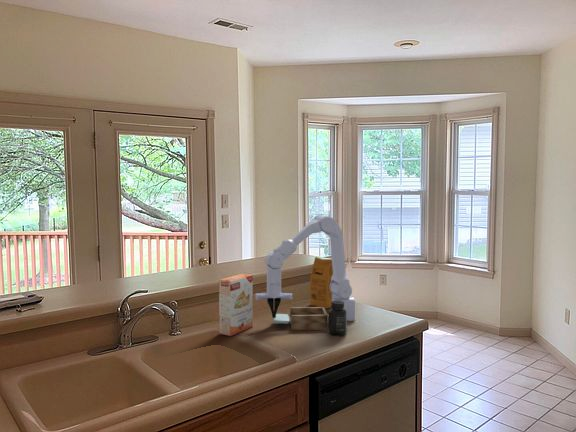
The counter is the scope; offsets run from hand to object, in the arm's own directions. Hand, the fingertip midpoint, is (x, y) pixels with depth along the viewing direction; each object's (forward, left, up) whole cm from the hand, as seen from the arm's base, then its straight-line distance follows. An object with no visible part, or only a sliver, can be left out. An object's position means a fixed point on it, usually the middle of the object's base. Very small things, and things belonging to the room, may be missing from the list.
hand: (274, 316), depth 190 cm
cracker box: (+14, +6, -4) cm, 16 cm away
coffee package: (-23, -29, -4) cm, 37 cm away
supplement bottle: (-24, +11, -4) cm, 26 cm away
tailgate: (-6, 0, -1) cm, 6 cm away
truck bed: (-14, 0, -3) cm, 14 cm away
